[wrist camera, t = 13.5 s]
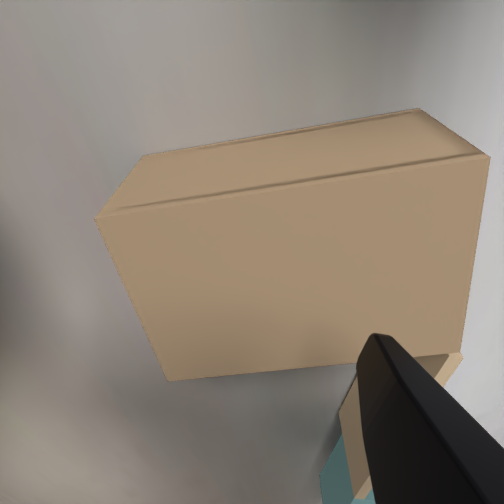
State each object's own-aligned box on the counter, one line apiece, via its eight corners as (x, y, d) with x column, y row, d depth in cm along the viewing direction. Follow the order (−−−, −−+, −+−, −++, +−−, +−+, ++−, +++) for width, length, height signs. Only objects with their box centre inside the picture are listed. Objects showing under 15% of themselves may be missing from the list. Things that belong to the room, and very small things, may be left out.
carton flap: (354, 460, 30) (371, 543, 25) (317, 455, 30) (326, 538, 25) (461, 284, 20) (518, 366, 16) (407, 274, 20) (449, 356, 16)
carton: (190, 293, 22) (167, 381, 17) (143, 155, 17) (94, 218, 12) (411, 264, 20) (460, 352, 15) (419, 108, 16) (490, 157, 11)
